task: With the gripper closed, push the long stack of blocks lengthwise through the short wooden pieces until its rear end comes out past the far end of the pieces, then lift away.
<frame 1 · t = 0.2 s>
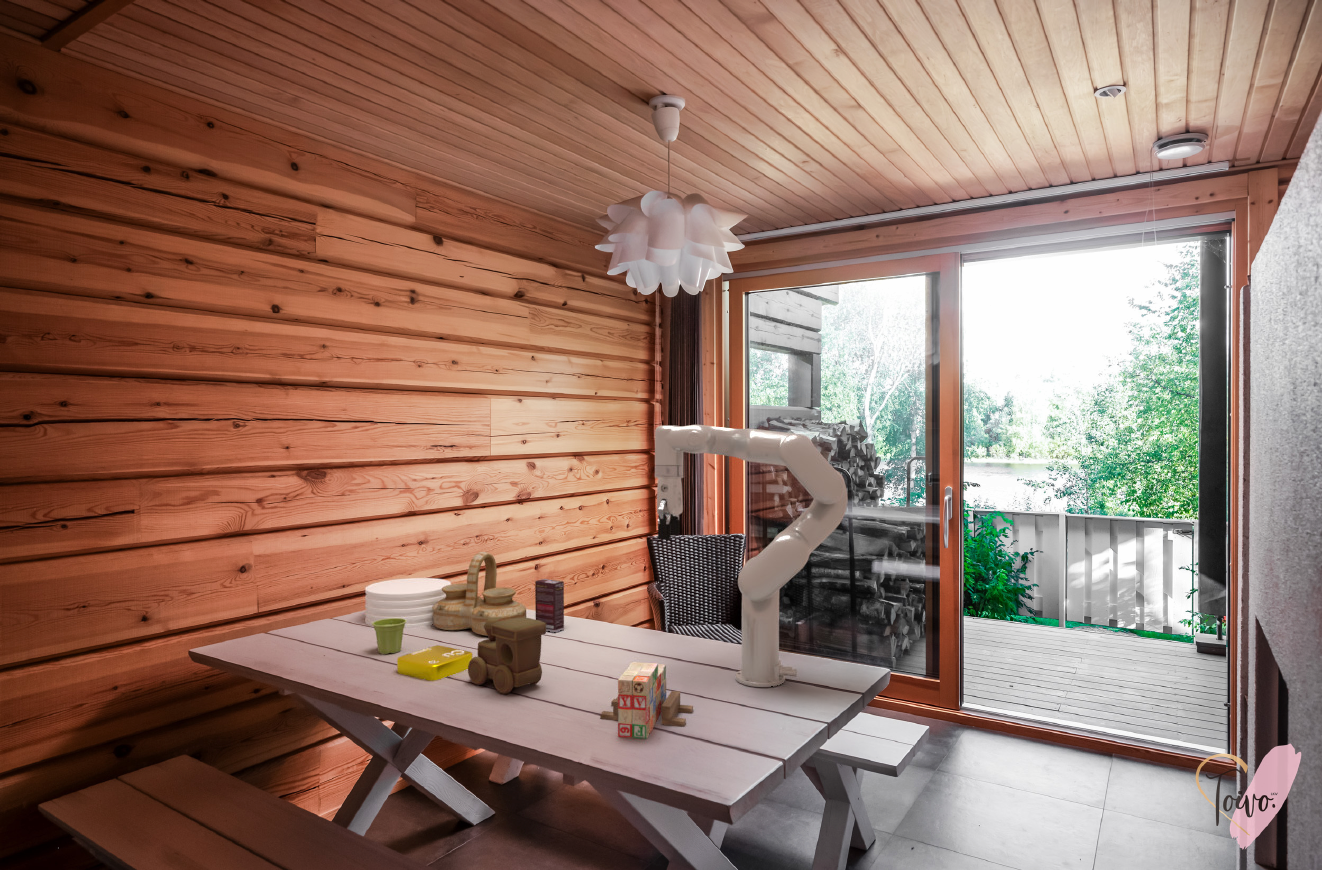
hand: (668, 536, 200), 36 cm above the table, tool pointing down, fingers open, 9 cm apart
wooden toy train: (505, 685, 191), on the table
supplement box: (549, 630, 245), on the table
plate stack: (408, 619, 261), on the table
element tile: (435, 671, 204), on the table
plant pot: (389, 652, 221), on the table
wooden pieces: (647, 714, 171), on the table
stack of blocks: (643, 720, 168), on the table
ceramic vessel: (478, 629, 247), on the table
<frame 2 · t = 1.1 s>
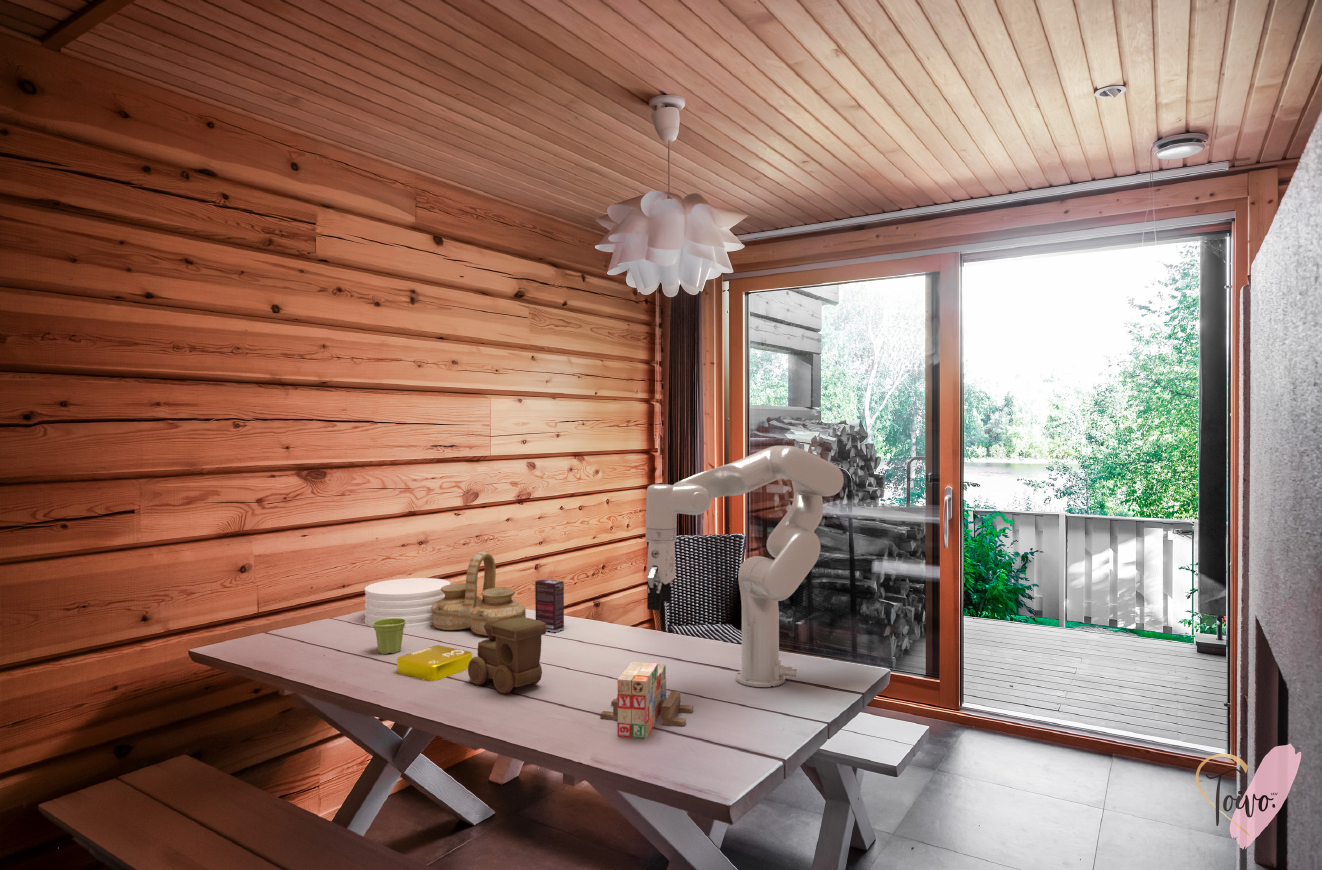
hand: (659, 605, 184), 22 cm above the table, tool pointing down, fingers open, 9 cm apart
nothing on the table moved.
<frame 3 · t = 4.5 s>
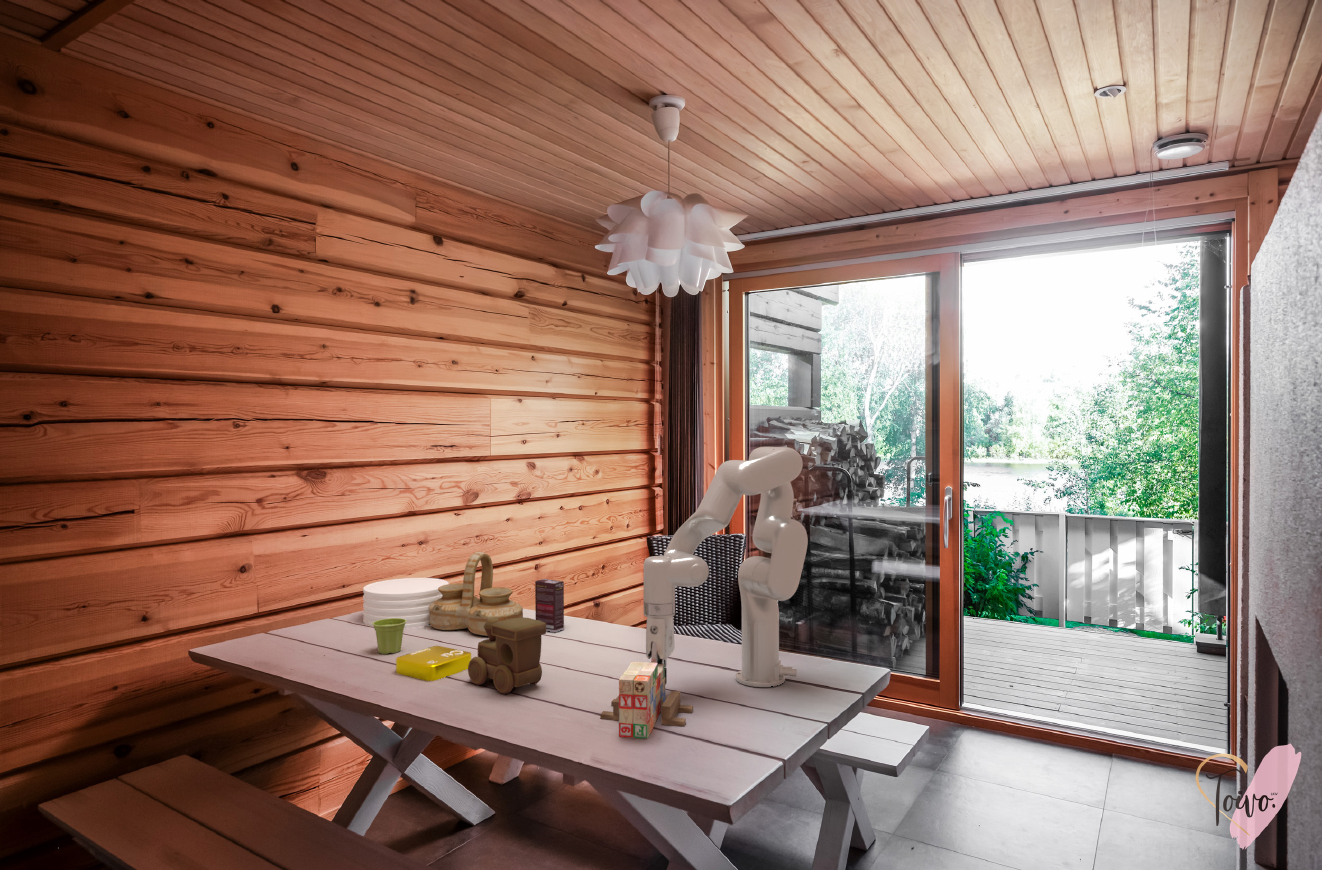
hand: (659, 684, 181), 3 cm above the table, tool pointing down, fingers closed
stack of blocks: (643, 720, 168), on the table, touching gripper
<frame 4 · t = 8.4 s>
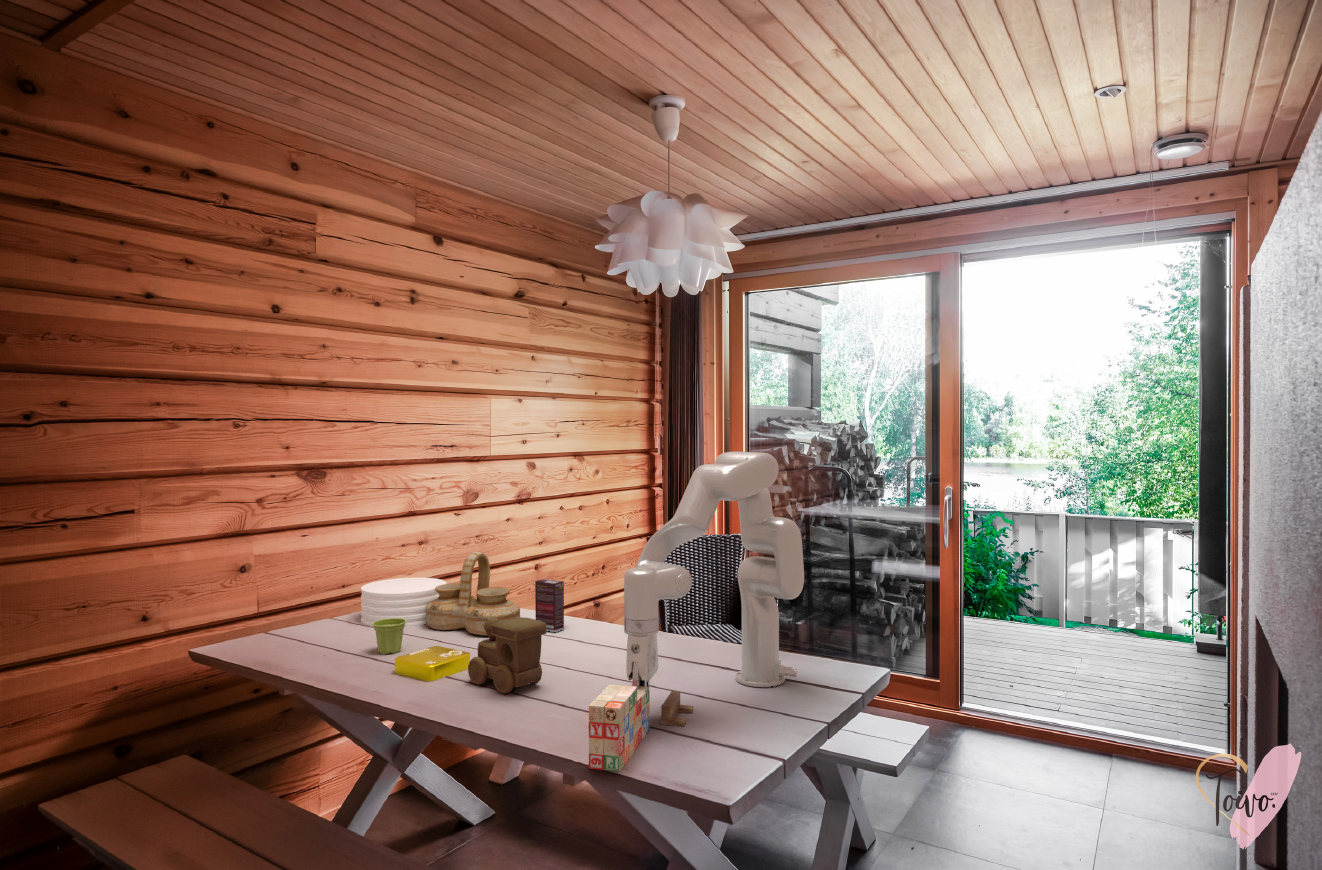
hand: (641, 708, 166), 3 cm above the table, tool pointing down, fingers closed
plate stack: (404, 618, 262), on the table
stack of blocks: (621, 749, 153), on the table, touching gripper
ceramic vessel: (472, 629, 247), on the table
everything else where it was.
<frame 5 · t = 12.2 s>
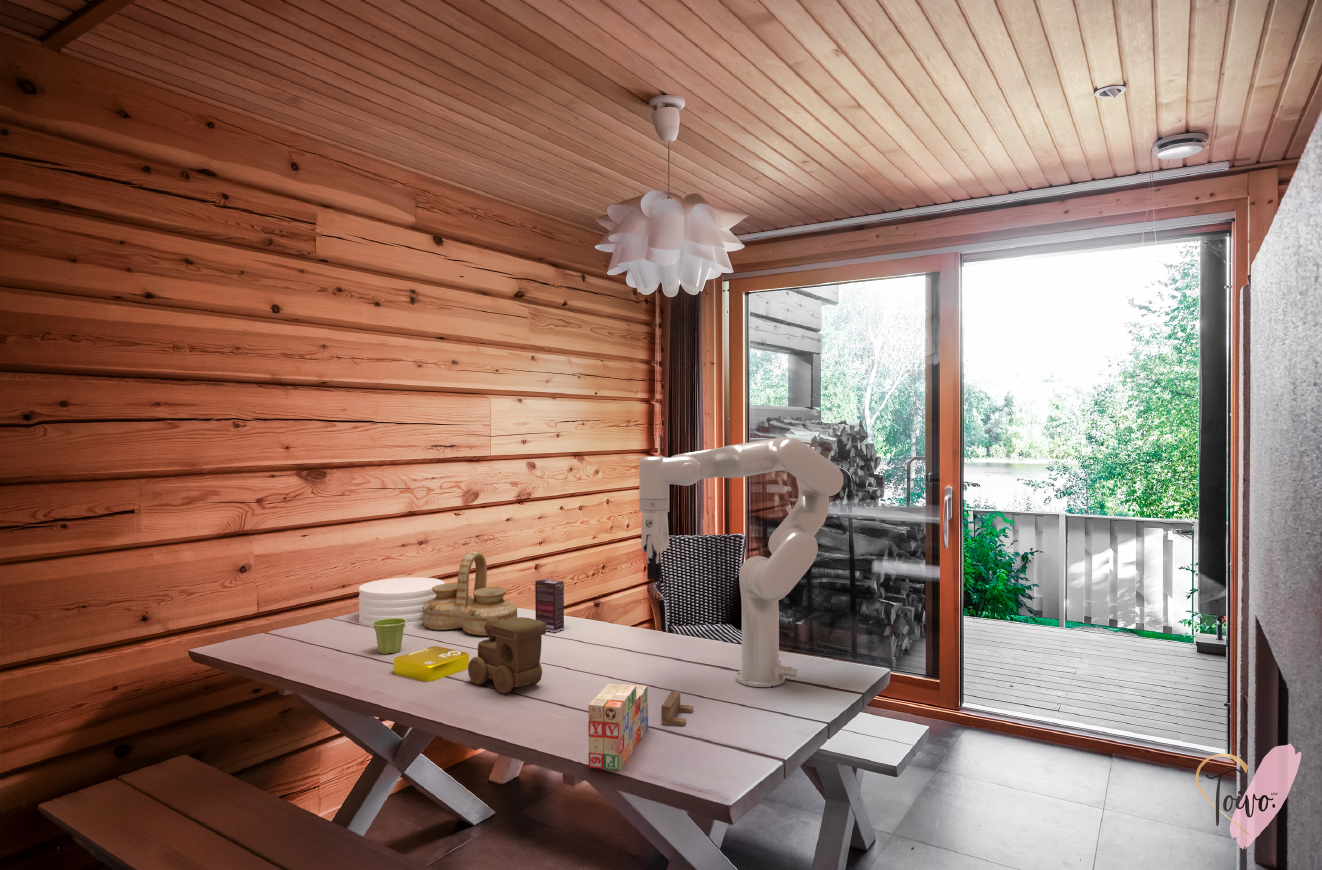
hand: (654, 578, 189), 27 cm above the table, tool pointing down, fingers closed
stack of blocks: (620, 748, 153), on the table
ceramic vessel: (469, 629, 247), on the table
at the end: stack of blocks inside the target area (3.8 cm from its centre), on the table; stack of blocks touching table; stack of blocks tilted 0° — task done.
